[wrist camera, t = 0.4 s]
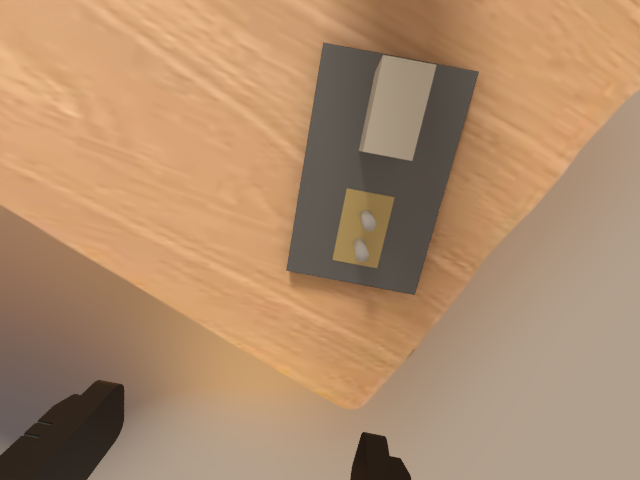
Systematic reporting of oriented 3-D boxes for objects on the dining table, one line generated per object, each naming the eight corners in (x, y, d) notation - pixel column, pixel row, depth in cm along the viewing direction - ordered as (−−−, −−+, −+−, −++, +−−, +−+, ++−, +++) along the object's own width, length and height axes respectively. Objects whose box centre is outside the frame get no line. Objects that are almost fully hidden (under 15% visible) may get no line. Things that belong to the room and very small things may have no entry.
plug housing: (375, 71, 29) (383, 54, 24) (418, 79, 29) (436, 64, 24) (358, 150, 31) (362, 151, 26) (399, 158, 31) (412, 160, 26)
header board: (323, 47, 30) (321, 26, 25) (472, 75, 30) (501, 59, 25) (288, 265, 36) (279, 286, 31) (411, 288, 36) (424, 313, 31)
